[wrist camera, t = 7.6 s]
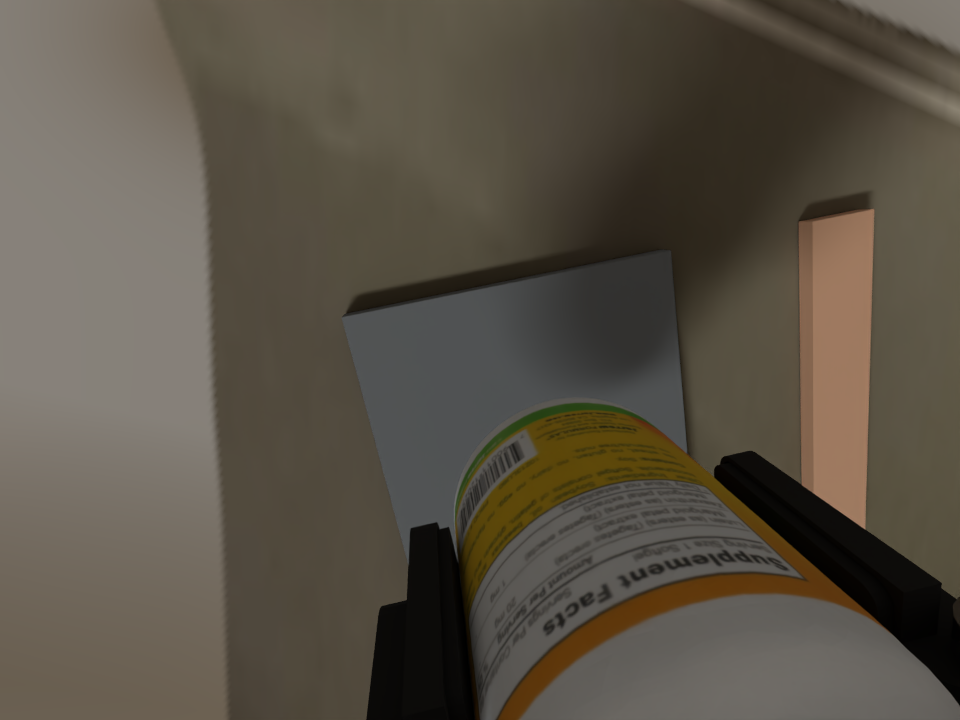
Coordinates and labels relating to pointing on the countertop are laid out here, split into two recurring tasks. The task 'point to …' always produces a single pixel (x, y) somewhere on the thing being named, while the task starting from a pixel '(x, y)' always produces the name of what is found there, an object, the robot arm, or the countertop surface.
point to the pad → (510, 367)
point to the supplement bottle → (652, 590)
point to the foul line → (836, 356)
